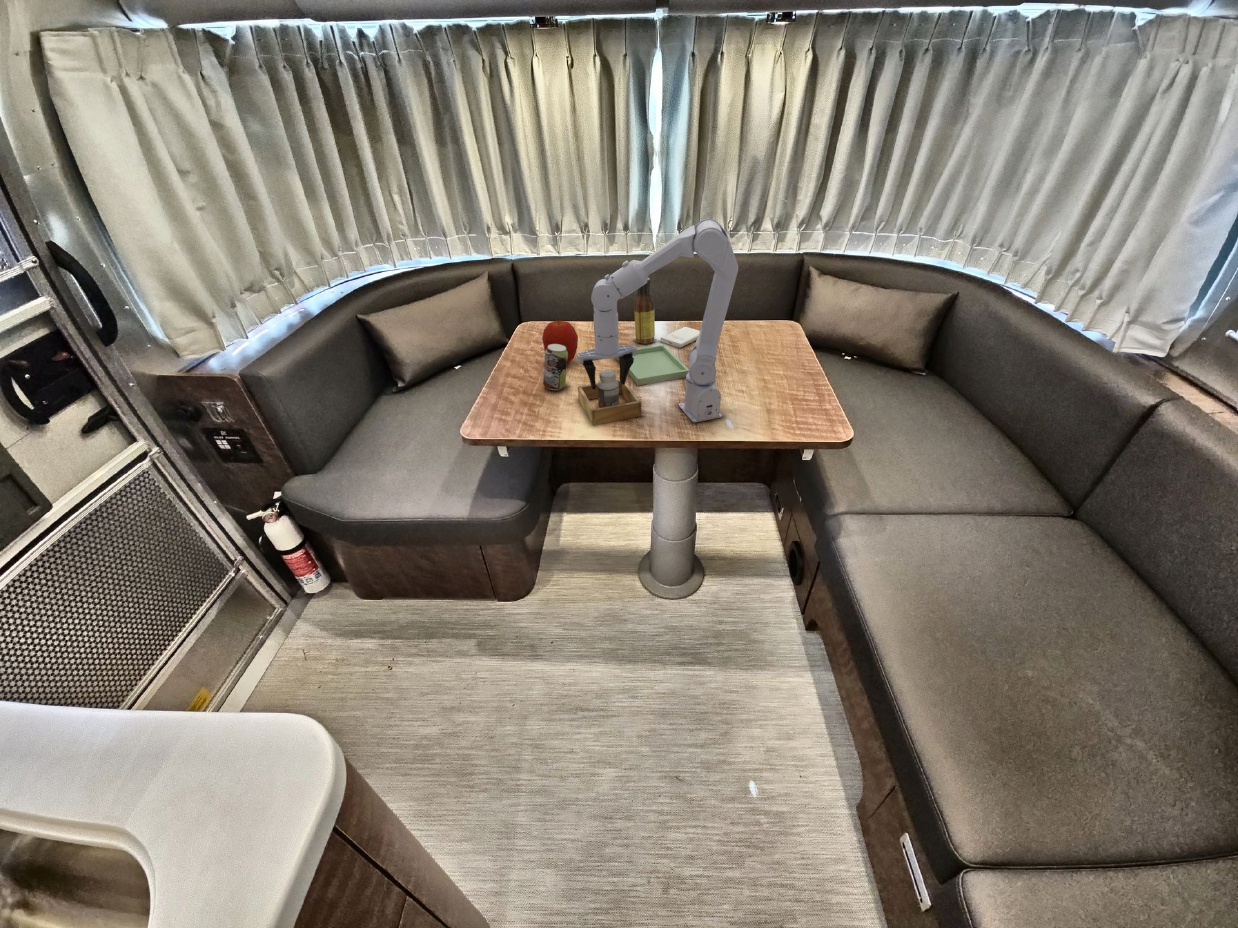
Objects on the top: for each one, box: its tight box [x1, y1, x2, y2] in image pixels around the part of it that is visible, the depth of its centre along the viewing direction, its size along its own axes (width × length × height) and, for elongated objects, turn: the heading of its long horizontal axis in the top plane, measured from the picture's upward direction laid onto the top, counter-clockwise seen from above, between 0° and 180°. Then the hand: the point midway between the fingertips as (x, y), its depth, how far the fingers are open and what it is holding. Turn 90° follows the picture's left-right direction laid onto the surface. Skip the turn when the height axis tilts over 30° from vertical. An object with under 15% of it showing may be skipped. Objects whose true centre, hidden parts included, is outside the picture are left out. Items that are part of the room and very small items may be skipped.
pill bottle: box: [596, 369, 620, 408], centre depth 134 cm, size 5×5×10 cm
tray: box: [615, 344, 690, 386], centre depth 156 cm, size 20×16×2 cm
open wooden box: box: [577, 379, 642, 426], centre depth 136 cm, size 14×13×4 cm
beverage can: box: [542, 344, 568, 391], centre depth 143 cm, size 6×7×12 cm
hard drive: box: [660, 326, 700, 349], centre depth 172 cm, size 2×8×12 cm
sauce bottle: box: [633, 277, 656, 345], centre depth 166 cm, size 7×6×20 cm
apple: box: [541, 319, 579, 365], centre depth 156 cm, size 10×10×14 cm
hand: (608, 385), depth 133 cm, fingers open, 7 cm apart
